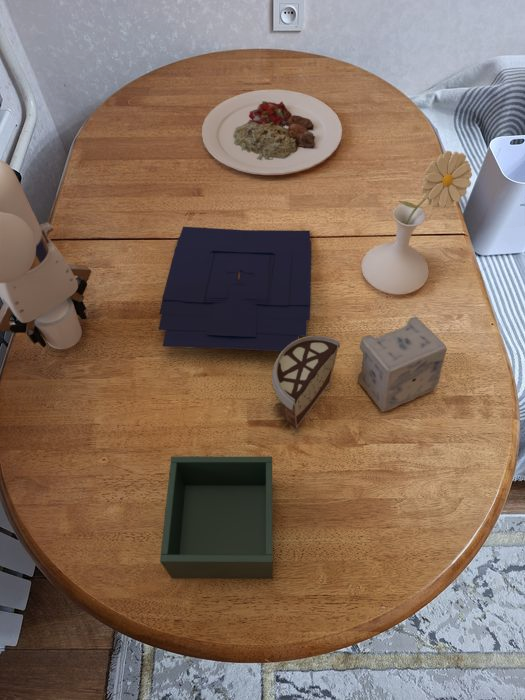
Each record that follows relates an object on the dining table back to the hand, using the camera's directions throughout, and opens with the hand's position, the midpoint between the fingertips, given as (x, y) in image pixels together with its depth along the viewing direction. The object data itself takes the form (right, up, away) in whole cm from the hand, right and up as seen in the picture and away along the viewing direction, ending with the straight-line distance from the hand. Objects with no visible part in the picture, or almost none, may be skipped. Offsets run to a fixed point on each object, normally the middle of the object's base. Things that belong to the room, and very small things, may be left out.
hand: (60, 327), depth 88 cm
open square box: (+27, -27, -16) cm, 42 cm away
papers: (+28, +6, +7) cm, 30 cm away
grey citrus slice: (+37, -11, -5) cm, 39 cm away
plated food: (+34, +43, +31) cm, 63 cm away
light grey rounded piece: (0, -1, +2) cm, 2 cm away
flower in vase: (+56, +9, +8) cm, 57 cm away
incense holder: (+52, -9, -4) cm, 53 cm away
